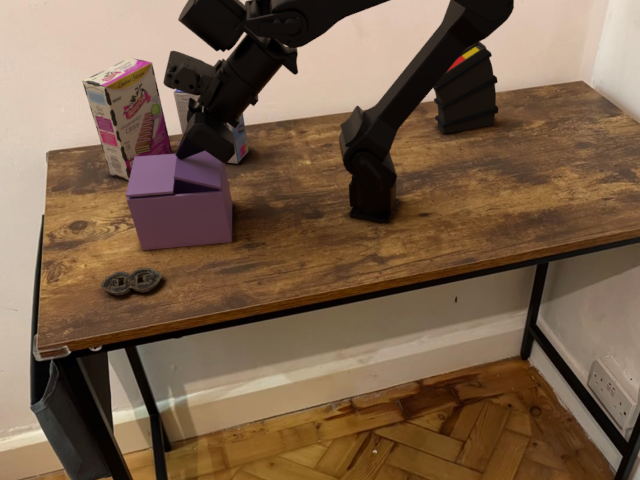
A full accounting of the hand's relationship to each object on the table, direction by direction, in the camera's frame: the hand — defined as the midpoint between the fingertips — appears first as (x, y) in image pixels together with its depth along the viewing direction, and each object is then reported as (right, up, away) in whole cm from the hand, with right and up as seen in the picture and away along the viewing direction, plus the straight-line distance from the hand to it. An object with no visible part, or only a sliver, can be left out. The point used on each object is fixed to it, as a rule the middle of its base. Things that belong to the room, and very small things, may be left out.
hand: (178, 156), depth 94 cm
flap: (+3, -1, +1) cm, 3 cm away
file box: (-1, -8, +8) cm, 12 cm away
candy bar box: (-13, +4, +22) cm, 26 cm away
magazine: (+44, +14, +32) cm, 56 cm away
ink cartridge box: (0, +7, +24) cm, 25 cm away
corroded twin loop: (-5, -19, -3) cm, 20 cm away
